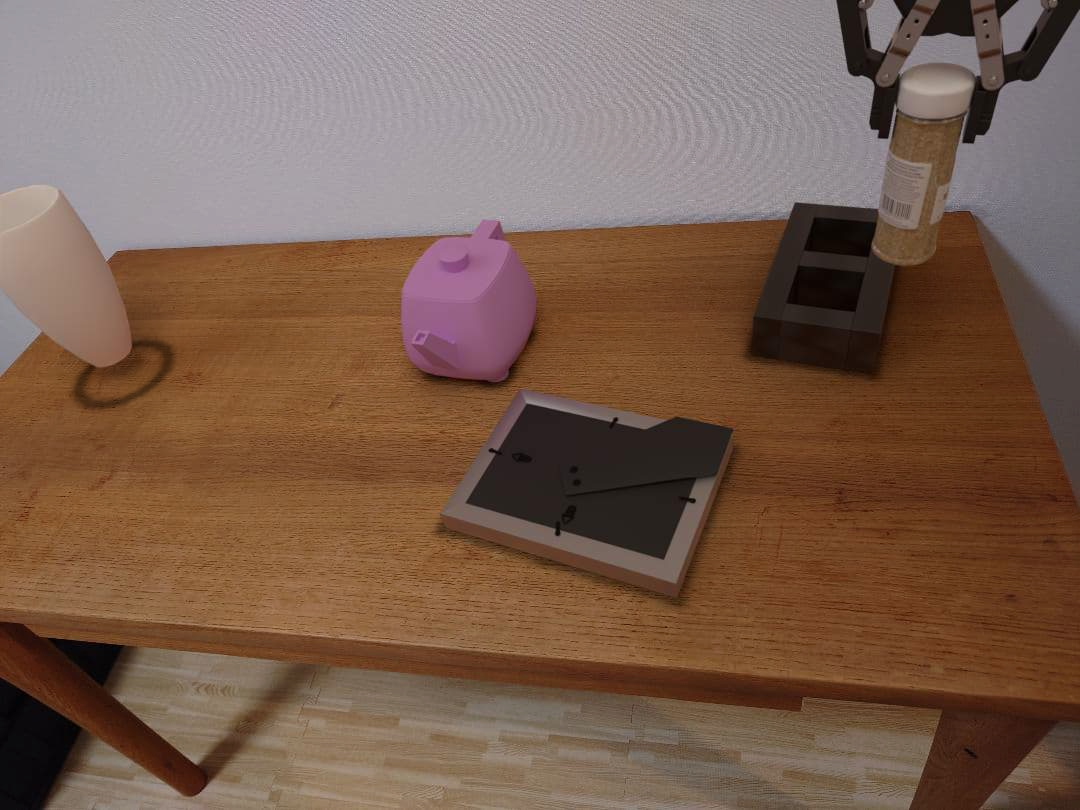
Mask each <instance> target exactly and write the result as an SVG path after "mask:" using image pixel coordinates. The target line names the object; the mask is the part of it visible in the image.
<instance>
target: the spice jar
mask: <svg viewBox="0 0 1080 810" xmlns="http://www.w3.org/2000/svg"><path fill="white" fill-rule="evenodd" d="M976 76H977V75H976V73H974V72H973V71H972V70H971V69H969V68H968V67H966V66H963V65H960V64H956V63H949V62H927V63H921V64H918V65H915V66H912V67H909V68H908V69H906V70H905V71H903V73H902V74H900V78H899V83H898V88H897V93H896V99H895V108H896V109H895V116H894V122H893V126H892V133H891V139H890V143H889V145H888V149H887V150H888V151H887V156H886V160H885V167H884V171H883V172H884V173H883V179H882V185H881V191H880V195H879V203H878V208H877V209H878V213H879V215H878V221H877V227H876V232H875V237H874V239H873V241H872V250H873V252H874V254H875V255H876V256H877V257H878V258H880V259H882V260H883V261H885V262H888V263H891V264H894V265H895V266H900V267H906V266H907V267H909V266H918V265H920V264H923V263H926V262H927V261H929V260H930V259H931V258H932V257H934V255H935V253H936V250H937V247H938V246H937V239H938V235H939V231H940V225H941V222H942V218H943V216H944V213H945V210H946V209H945V208H946V203H947V200H948V195H949V191H950V187H951V183H952V177H953V173H954V169H955V164H956V159H957V158H956V157H957V151H958V147H959V144H960V140H961V135H962V130H963V128H964V123H965V117H967V113H968V109H969V108H970V106H971V103H972V99H973V95H974V90H975V86H976Z"/></svg>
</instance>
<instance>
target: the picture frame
mask: <svg viewBox="0 0 1080 810" xmlns="http://www.w3.org/2000/svg"><path fill="white" fill-rule="evenodd" d="M733 432H734V428H733V427H730V426H729V427H728V426H724V425H718V424H714V423H709V422H705V421H700V420H696V419H690V418H686V417H681V416H674V417H671V418H669V419H663V418H658V417H654V416H649V415H646V414H641V413H635V412H631V411H627V410H622V409H618V408H617V409H616V408H611V407H607V406H603V405H598V404H593V403H590V402H584V401H581V400H580V401H579V400H575V399H570V398H566V397H560V396H556V395H551V394H548V393H543V392H542V393H541V392H538V391H533V390H528V389H524V388H519V389H518V390H517V392H516V393H515V394H514V396H513V398H512V400H511V402H509V404H508V406H507V408H506V409H505V411H504V412H503V414H502V415H501V417H500V419H499V420H498V421H497V423H496V425H495V426H494V428H493V429H492V431H491V433H490V434H489V435H488V437H487V438H486V440H485V442H484V444H483V445H482V447H481V449H480V450H479V451H478V453H477V455H476V456H475V458H474V459H473V461H472V462H471V464H470V466H469V467H468V469H467V470H466V472H465V474H464V475H463V477H462V478H461V480H460V482H459V483H458V484H457V486H456V488H455V489H454V491H453V493H452V494H451V495H450V497H449V498H448V500H447V502H446V504H445V505H444V507H443V508H442V509H441V511H440V513H439V514H440V518H441V520H442V522H443V526H444V527H445V528H446V529H448V530H452V531H453V532H454V531H455V532H458V533H461V534H465V535H468V536H471V537H475V538H477V539H480V540H484V541H488V542H491V543H493V544H497V545H500V546H504V547H508V548H511V549H514V550H517V551H519V552H523V553H527V554H530V555H533V556H536V557H540V558H543V559H546V560H550V561H553V562H557V563H560V564H562V565H567V566H570V567H573V568H576V569H579V570H583V571H586V572H590V573H592V574H596V575H599V576H602V577H606V578H608V579H613V580H616V581H619V582H622V583H626V584H629V585H632V586H635V587H637V588H638V587H639V588H642V589H645V590H648V591H651V592H655V593H658V594H662V595H665V596H668V597H672V598H675V599H678V597H679V594H680V592H681V589H682V587H683V584H684V581H685V579H686V576H687V573H688V570H689V568H690V565H691V562H692V560H693V557H694V554H695V552H696V549H697V546H698V543H699V541H700V539H701V535H702V533H703V530H704V528H705V525H706V522H707V519H708V517H709V514H710V511H711V510H712V506H713V504H714V501H715V498H716V496H717V494H718V490H719V487H720V485H721V483H722V480H723V477H724V474H725V472H726V469H727V466H728V463H729V462H730V458H731V456H732V454H733V453H732V452H733V449H734V434H733Z"/></svg>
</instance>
